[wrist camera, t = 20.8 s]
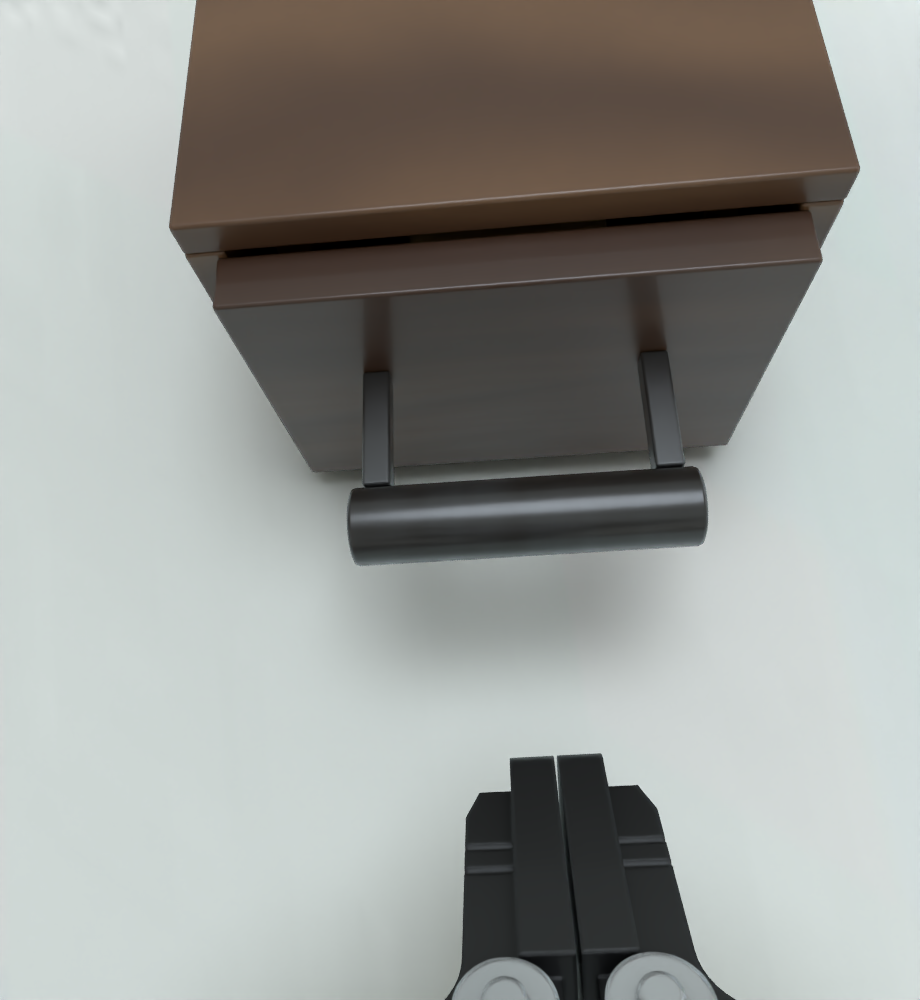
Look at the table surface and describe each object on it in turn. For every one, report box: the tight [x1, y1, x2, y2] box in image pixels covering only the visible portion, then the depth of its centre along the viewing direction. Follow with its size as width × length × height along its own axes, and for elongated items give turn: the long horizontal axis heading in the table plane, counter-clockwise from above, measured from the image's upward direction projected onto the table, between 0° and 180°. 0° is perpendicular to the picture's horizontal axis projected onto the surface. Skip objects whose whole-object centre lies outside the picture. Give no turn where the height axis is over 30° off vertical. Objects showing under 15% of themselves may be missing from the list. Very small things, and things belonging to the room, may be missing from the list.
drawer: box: [213, 208, 823, 566], centre depth 20 cm, size 18×11×8 cm, turn 2°
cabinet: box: [169, 0, 860, 302], centre depth 22 cm, size 15×13×10 cm
